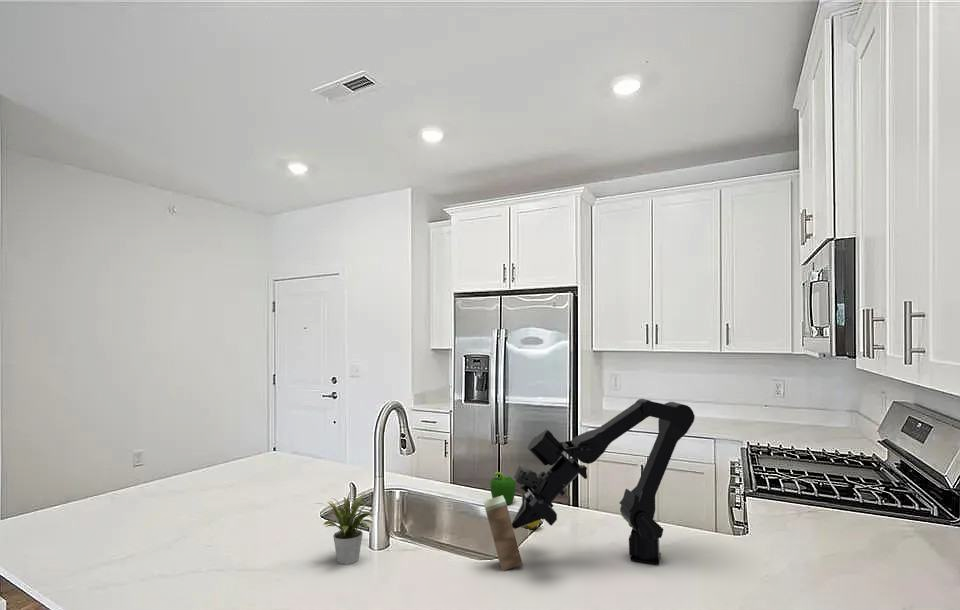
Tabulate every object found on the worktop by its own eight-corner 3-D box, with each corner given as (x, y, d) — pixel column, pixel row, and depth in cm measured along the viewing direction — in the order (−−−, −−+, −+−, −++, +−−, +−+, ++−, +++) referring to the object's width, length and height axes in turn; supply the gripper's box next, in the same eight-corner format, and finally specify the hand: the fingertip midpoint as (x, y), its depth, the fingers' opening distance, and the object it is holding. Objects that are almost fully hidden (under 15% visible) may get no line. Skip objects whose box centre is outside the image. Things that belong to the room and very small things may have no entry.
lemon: (540, 532, 143) (540, 503, 144) (521, 531, 144) (520, 502, 145) (542, 525, 148) (541, 497, 149) (523, 524, 150) (522, 496, 150)
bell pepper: (519, 500, 173) (518, 469, 173) (512, 507, 165) (511, 476, 166) (495, 498, 175) (494, 468, 176) (487, 505, 168) (487, 474, 168)
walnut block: (519, 555, 125) (502, 495, 126) (522, 564, 120) (505, 501, 121) (499, 561, 125) (483, 501, 125) (502, 571, 120) (485, 507, 120)
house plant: (318, 579, 117) (319, 506, 118) (308, 557, 129) (309, 490, 130) (380, 566, 123) (379, 496, 124) (364, 546, 135) (364, 482, 137)
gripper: (526, 447, 134) (485, 492, 132) (542, 464, 115) (493, 516, 114) (557, 477, 134) (515, 522, 132) (577, 499, 116) (529, 551, 114)
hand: (512, 527), depth 123 cm, fingers closed
